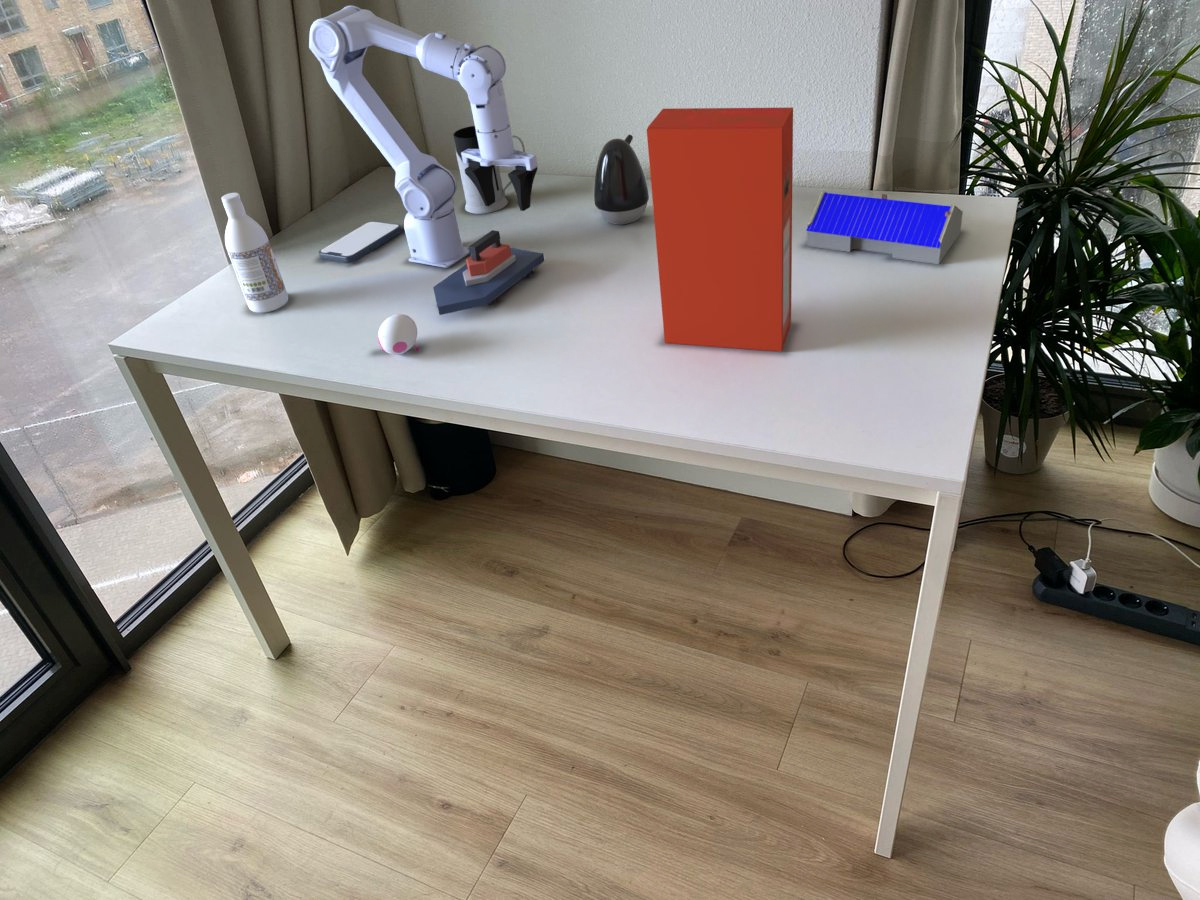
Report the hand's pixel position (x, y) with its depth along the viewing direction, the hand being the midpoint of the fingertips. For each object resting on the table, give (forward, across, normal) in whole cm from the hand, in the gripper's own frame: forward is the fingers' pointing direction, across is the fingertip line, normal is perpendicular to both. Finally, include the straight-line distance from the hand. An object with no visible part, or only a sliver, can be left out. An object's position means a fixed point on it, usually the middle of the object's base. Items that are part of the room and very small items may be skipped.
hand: (507, 206), depth 161 cm
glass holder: (+10, -20, +21) cm, 31 cm away
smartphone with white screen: (+10, -35, -4) cm, 36 cm away
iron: (+7, +2, -10) cm, 12 cm away
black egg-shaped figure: (+11, +9, +22) cm, 26 cm away
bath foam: (+10, -33, -29) cm, 46 cm away
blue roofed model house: (+11, +57, +28) cm, 64 cm away
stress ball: (+10, +1, -33) cm, 35 cm away
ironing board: (+10, +1, -12) cm, 16 cm away
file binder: (+11, +46, -10) cm, 49 cm away
